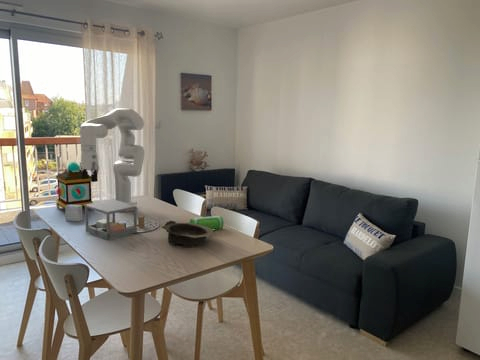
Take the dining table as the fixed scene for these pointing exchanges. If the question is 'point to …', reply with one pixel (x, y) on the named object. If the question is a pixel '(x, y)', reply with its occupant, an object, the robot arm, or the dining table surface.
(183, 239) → the stone bowl
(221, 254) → the dining table surface
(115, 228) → the tied block
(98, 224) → the sage block
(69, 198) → the decorative lantern
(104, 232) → the lane shelf
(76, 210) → the medicine box
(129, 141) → the robot arm
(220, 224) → the green tapered cylinder
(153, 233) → the dining table surface
